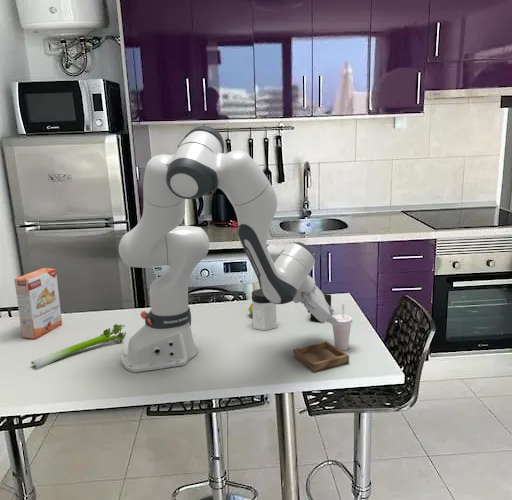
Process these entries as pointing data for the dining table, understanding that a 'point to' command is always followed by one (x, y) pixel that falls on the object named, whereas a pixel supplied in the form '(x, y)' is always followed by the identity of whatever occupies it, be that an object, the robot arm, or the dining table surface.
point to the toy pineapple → (251, 309)
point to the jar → (263, 312)
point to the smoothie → (342, 330)
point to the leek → (80, 346)
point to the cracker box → (38, 302)
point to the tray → (320, 356)
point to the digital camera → (328, 300)
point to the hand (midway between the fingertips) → (334, 318)
